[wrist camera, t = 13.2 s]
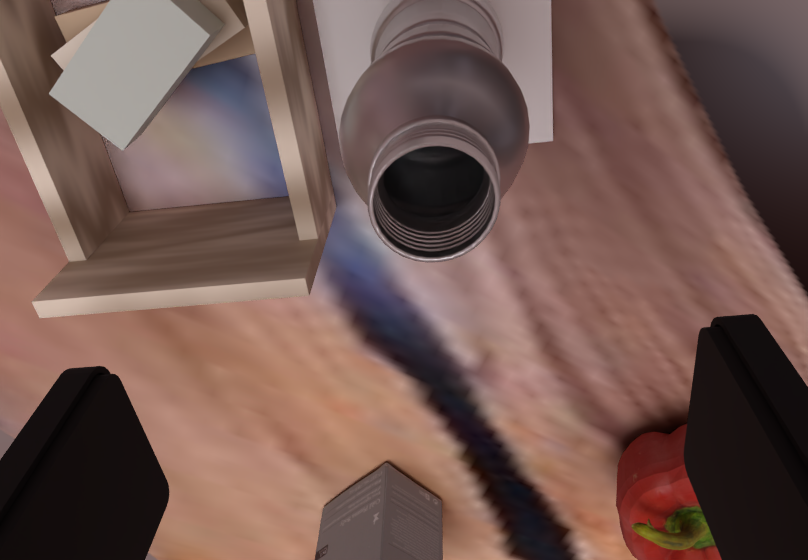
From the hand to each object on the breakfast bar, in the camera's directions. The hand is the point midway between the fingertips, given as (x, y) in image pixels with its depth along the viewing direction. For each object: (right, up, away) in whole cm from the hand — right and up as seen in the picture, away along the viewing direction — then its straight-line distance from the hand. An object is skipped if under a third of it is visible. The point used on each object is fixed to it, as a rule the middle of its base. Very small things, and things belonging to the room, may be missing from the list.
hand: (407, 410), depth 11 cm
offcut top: (-12, +13, +22) cm, 28 cm away
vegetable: (+19, -10, +39) cm, 45 cm away
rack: (-12, +14, +26) cm, 32 cm away
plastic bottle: (+2, +15, +24) cm, 29 cm away
